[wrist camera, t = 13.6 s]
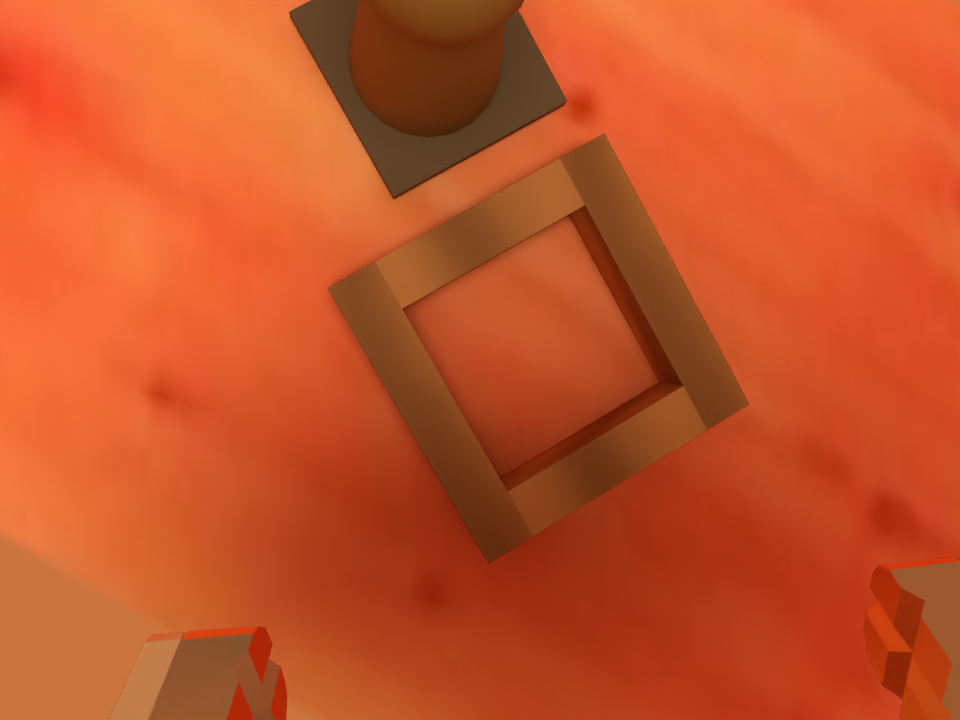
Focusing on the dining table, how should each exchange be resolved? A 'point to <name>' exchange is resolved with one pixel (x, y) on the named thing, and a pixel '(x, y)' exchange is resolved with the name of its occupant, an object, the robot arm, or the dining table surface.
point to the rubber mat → (418, 159)
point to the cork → (428, 61)
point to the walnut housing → (637, 290)
